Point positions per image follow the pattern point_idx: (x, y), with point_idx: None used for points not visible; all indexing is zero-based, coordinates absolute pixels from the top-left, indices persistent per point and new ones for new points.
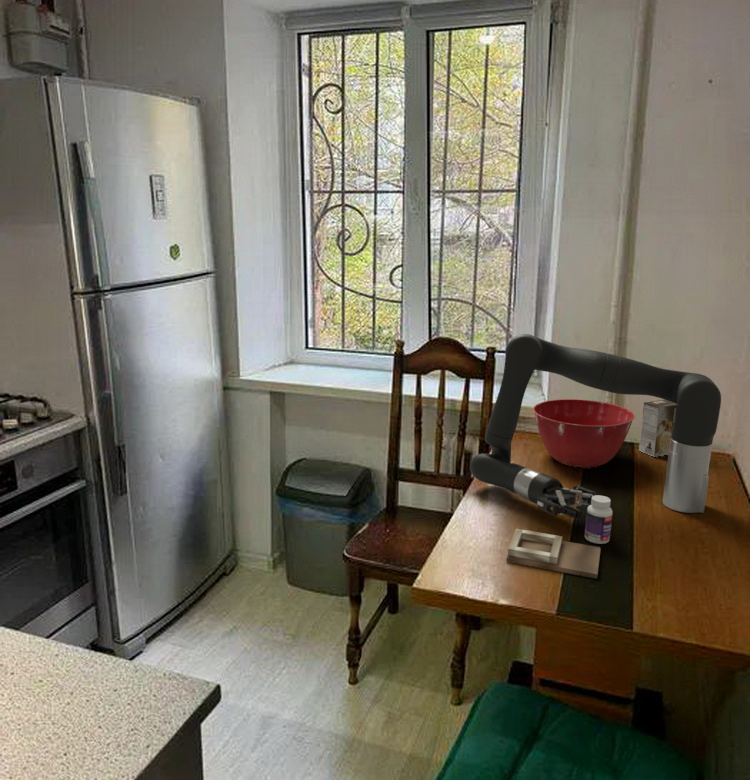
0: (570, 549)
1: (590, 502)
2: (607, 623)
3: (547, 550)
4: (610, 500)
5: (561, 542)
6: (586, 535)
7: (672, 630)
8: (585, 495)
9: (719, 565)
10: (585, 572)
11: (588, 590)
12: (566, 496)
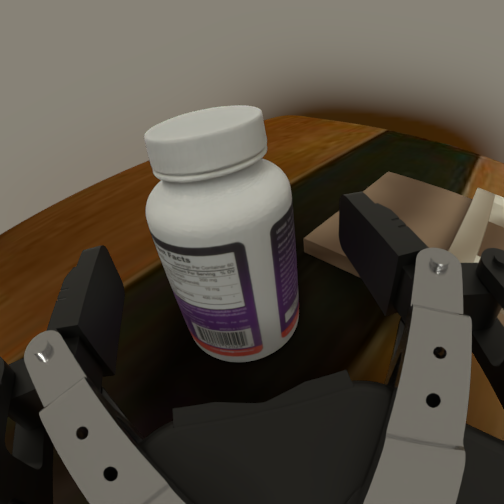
0: None
1: (101, 353)
2: (415, 137)
3: None
4: (173, 118)
5: None
6: (298, 308)
7: (337, 125)
8: (78, 364)
9: (108, 190)
10: (412, 180)
11: (419, 168)
12: (302, 430)
